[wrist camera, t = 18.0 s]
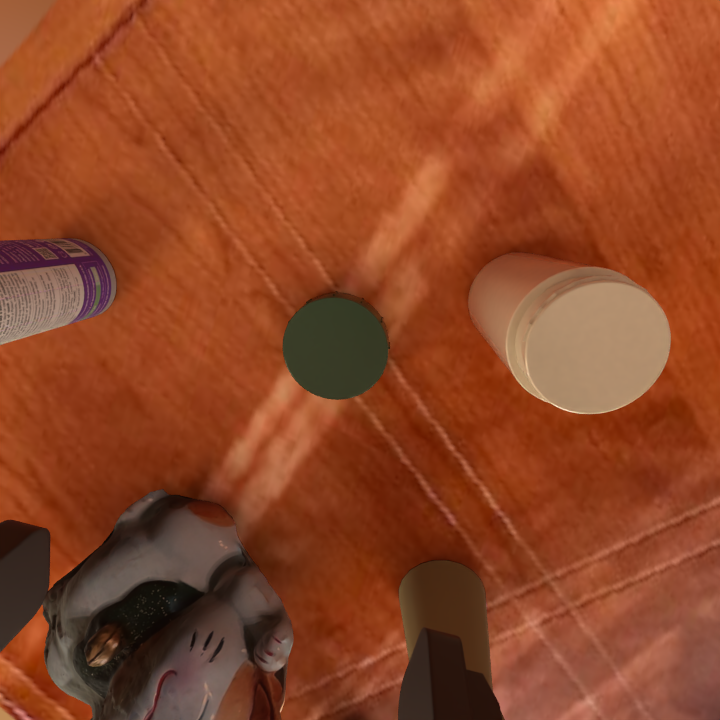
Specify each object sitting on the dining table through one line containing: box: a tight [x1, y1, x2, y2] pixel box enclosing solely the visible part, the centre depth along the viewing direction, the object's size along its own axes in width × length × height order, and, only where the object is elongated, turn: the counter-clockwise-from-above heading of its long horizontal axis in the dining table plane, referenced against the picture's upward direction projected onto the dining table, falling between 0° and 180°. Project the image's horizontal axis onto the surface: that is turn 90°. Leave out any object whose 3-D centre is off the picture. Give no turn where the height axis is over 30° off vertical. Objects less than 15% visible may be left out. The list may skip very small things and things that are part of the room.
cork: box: [399, 560, 505, 720], centre depth 25 cm, size 6×6×11 cm
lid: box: [283, 291, 390, 400], centre depth 25 cm, size 6×6×2 cm
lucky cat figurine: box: [42, 489, 294, 720], centre depth 26 cm, size 15×12×14 cm
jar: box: [468, 252, 671, 414], centre depth 19 cm, size 5×5×10 cm
